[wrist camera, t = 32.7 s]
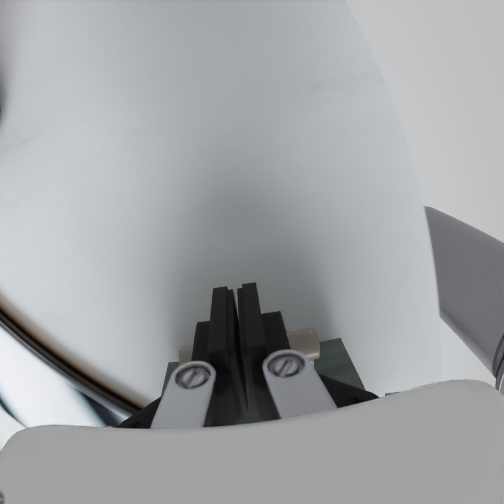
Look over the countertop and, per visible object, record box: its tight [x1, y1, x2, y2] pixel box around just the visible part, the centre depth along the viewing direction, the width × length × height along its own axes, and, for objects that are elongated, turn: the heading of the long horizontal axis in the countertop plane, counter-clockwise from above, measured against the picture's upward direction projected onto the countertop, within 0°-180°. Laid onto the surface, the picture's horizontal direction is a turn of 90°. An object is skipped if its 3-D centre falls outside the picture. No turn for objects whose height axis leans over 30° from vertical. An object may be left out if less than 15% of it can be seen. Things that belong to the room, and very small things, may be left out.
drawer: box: [161, 328, 366, 425], centre depth 17 cm, size 19×11×8 cm, turn 8°
